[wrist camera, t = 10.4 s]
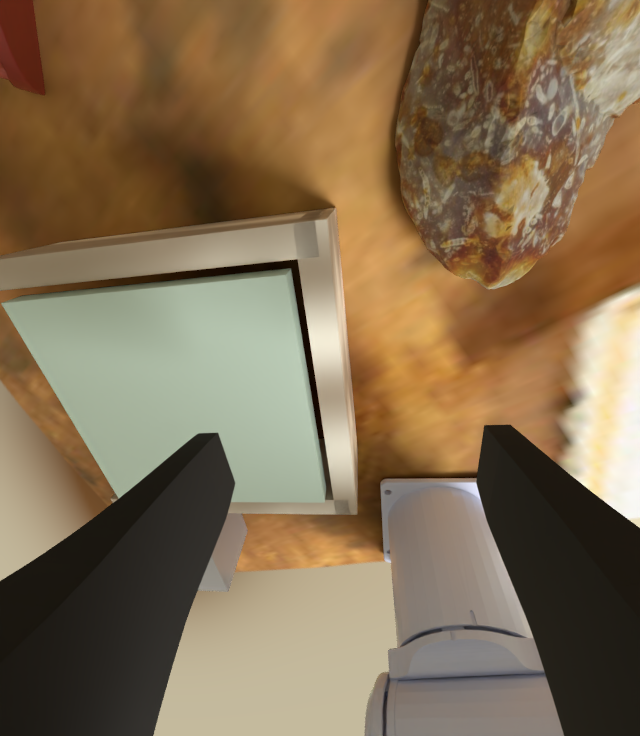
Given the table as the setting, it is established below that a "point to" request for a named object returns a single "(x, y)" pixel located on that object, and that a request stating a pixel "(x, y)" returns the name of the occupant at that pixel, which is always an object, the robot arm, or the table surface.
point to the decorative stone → (509, 124)
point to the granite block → (225, 555)
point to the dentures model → (20, 46)
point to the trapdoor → (184, 376)
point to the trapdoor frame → (232, 248)
